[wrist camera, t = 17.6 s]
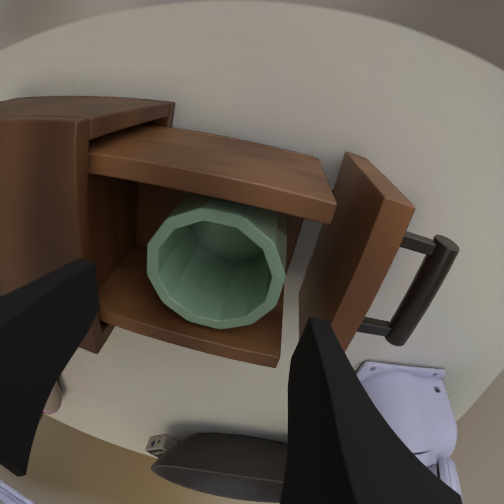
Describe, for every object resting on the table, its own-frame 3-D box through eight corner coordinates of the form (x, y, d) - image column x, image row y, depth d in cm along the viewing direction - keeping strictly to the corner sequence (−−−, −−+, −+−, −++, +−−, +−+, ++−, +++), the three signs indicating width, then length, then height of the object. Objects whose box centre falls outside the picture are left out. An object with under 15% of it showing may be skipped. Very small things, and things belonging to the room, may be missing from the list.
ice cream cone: (40, 325, 29) (41, 388, 35) (17, 349, 25) (26, 409, 30) (71, 346, 30) (66, 404, 36) (50, 373, 25) (52, 427, 31)
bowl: (159, 408, 31) (144, 452, 25) (346, 437, 30) (348, 482, 25) (167, 446, 37) (156, 481, 32) (315, 469, 36) (314, 505, 31)
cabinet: (175, 102, 16) (77, 121, 8) (159, 259, 21) (97, 355, 13) (17, 97, 15) (-79, 126, 8) (22, 221, 21) (-50, 279, 13)
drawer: (434, 182, 15) (503, 241, 9) (376, 310, 20) (399, 396, 13) (141, 110, 15) (56, 132, 9) (132, 253, 20) (76, 324, 13)
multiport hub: (203, 466, 40) (200, 478, 38) (148, 437, 37) (143, 450, 35) (222, 464, 38) (219, 476, 36) (165, 434, 35) (161, 447, 33)
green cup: (297, 183, 15) (300, 230, 10) (272, 271, 18) (265, 340, 13) (193, 160, 15) (149, 196, 10) (182, 250, 18) (146, 310, 13)
